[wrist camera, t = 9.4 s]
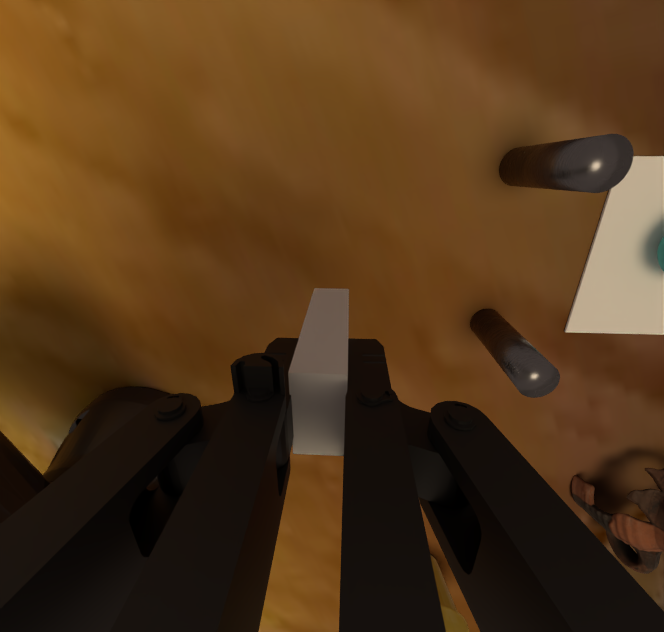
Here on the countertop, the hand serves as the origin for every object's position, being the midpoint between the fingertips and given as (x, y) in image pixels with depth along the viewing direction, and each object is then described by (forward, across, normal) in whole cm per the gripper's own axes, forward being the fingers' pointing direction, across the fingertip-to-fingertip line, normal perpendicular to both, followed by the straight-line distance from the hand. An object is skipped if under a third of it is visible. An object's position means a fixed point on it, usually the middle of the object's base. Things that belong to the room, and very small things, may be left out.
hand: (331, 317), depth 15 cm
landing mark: (+14, -27, 0) cm, 30 cm away
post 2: (+14, -13, -6) cm, 20 cm away
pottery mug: (+14, -31, +26) cm, 43 cm away
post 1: (+14, -13, +6) cm, 20 cm away
